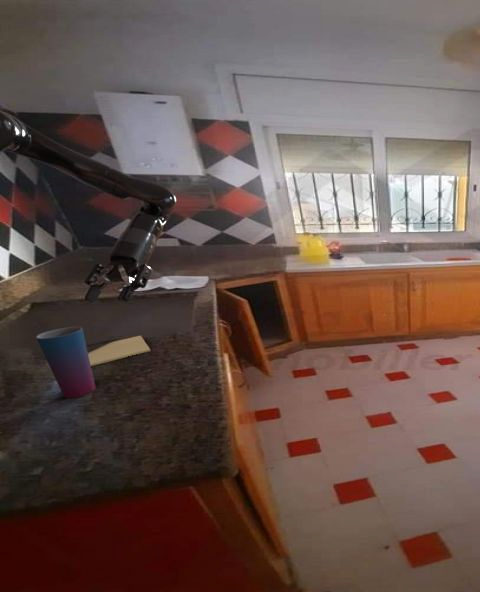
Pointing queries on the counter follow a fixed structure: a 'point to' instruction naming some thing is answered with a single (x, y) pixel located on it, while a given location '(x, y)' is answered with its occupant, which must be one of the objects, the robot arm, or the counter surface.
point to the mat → (118, 350)
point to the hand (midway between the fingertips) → (105, 301)
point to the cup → (68, 360)
